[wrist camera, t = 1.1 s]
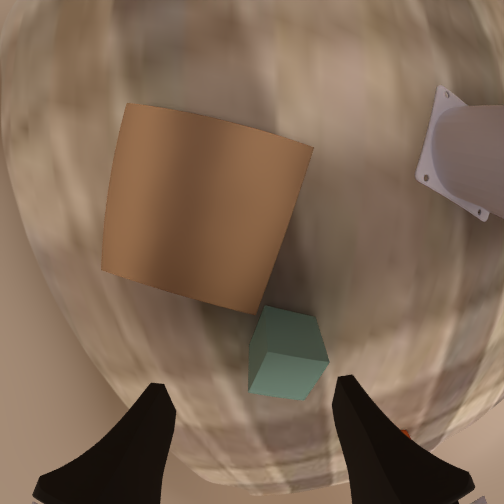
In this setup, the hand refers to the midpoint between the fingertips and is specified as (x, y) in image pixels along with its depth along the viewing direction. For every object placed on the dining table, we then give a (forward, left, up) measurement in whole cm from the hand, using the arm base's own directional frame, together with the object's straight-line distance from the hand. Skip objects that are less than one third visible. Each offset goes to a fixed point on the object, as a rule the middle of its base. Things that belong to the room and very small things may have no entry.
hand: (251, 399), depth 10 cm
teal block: (-3, +3, -10) cm, 10 cm away
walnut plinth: (+5, -5, -9) cm, 12 cm away
